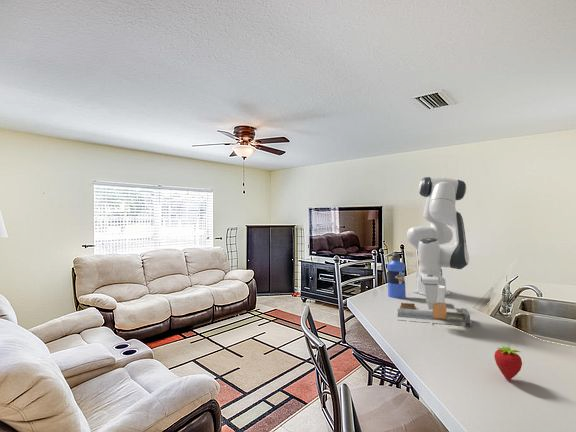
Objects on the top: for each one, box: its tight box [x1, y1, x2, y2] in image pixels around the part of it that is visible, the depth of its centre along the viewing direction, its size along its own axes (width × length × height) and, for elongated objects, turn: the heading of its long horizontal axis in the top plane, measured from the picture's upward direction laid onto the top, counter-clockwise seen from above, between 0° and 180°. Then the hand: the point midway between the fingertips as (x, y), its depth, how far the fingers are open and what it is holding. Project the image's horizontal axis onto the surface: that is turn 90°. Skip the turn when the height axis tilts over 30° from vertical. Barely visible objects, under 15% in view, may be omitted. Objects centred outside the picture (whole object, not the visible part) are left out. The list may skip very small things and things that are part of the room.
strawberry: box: [493, 342, 523, 381], centre depth 83 cm, size 6×8×10 cm
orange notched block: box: [432, 302, 448, 319], centre depth 133 cm, size 5×5×6 cm
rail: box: [396, 307, 473, 328], centre depth 134 cm, size 10×28×4 cm, turn 68°
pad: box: [399, 302, 417, 310], centre depth 148 cm, size 7×7×4 cm
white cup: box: [436, 285, 446, 303], centre depth 153 cm, size 8×8×10 cm
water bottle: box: [386, 252, 407, 299], centre depth 171 cm, size 9×9×25 cm
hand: (430, 308), depth 134 cm, fingers closed
